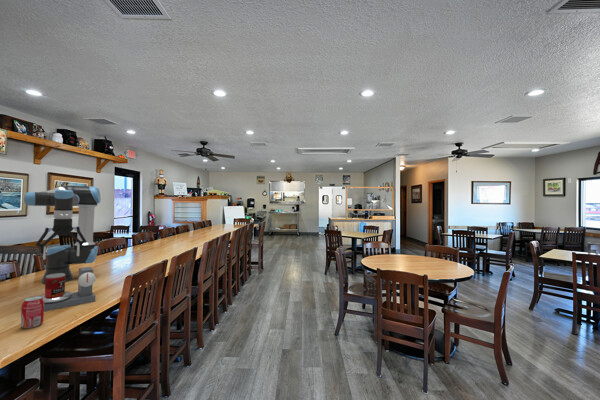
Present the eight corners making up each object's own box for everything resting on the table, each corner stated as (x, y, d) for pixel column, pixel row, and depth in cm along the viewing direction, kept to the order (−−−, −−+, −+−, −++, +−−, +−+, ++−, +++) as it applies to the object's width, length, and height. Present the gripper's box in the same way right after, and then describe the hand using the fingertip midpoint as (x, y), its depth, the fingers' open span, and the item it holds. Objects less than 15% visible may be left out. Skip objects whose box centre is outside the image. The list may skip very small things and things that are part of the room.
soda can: (31, 322, 119) (32, 295, 119) (47, 321, 120) (49, 295, 120) (15, 329, 112) (16, 301, 112) (33, 329, 113) (34, 301, 113)
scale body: (31, 305, 137) (33, 272, 137) (90, 294, 155) (92, 265, 155) (33, 313, 127) (34, 278, 127) (95, 301, 145) (97, 270, 145)
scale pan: (34, 299, 137) (34, 295, 137) (70, 292, 148) (70, 289, 148) (36, 306, 128) (36, 303, 128) (74, 299, 138) (74, 296, 138)
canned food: (52, 299, 133) (53, 277, 134) (40, 297, 135) (41, 276, 135) (68, 294, 141) (69, 273, 141) (56, 292, 143) (57, 272, 143)
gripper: (30, 219, 131) (28, 262, 131) (93, 218, 149) (92, 255, 149) (30, 218, 136) (28, 259, 136) (90, 217, 154) (89, 253, 154)
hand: (61, 257), depth 143 cm, fingers open, 13 cm apart
